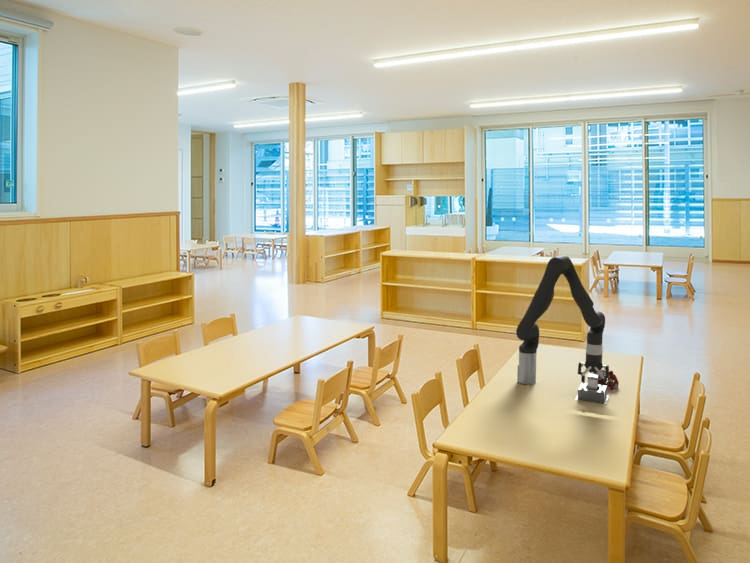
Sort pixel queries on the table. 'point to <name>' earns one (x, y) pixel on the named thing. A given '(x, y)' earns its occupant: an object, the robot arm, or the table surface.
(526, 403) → the table surface
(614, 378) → the toy fire truck
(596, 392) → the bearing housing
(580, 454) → the table surface
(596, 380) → the brushed square peg
